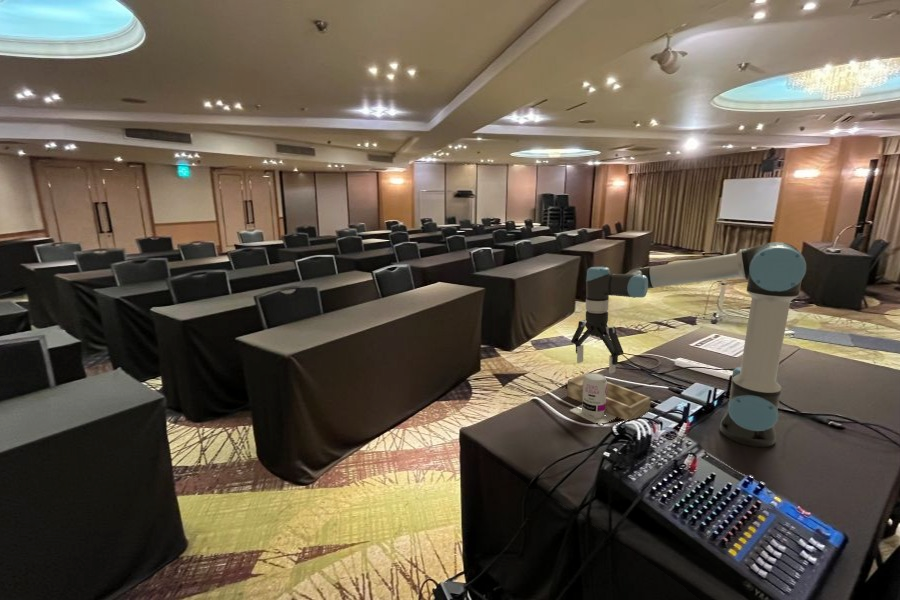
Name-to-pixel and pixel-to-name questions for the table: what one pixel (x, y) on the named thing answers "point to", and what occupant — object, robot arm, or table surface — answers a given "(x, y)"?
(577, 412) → the mat
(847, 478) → the table surface
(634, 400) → the crate
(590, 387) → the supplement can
